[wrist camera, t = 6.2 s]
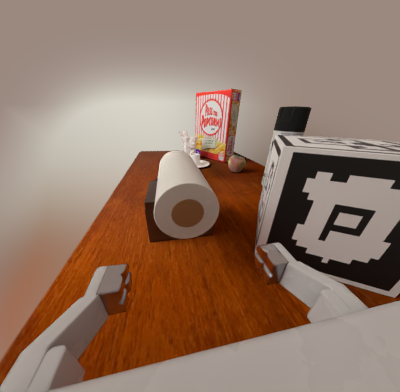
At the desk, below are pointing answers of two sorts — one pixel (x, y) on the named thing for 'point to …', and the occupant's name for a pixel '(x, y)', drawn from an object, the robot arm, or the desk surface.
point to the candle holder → (198, 160)
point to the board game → (217, 123)
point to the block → (335, 208)
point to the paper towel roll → (183, 198)
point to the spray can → (289, 125)
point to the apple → (236, 163)
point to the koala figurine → (189, 143)
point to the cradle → (153, 229)
